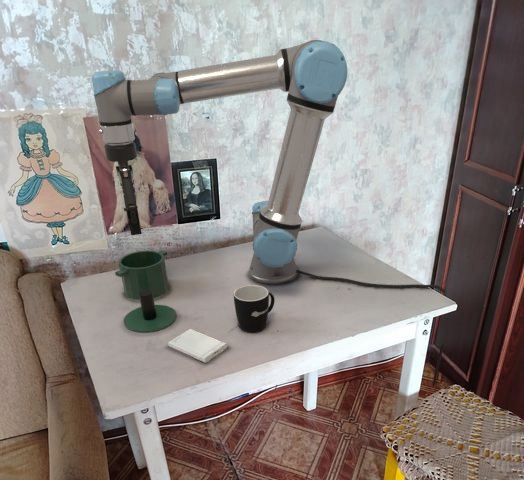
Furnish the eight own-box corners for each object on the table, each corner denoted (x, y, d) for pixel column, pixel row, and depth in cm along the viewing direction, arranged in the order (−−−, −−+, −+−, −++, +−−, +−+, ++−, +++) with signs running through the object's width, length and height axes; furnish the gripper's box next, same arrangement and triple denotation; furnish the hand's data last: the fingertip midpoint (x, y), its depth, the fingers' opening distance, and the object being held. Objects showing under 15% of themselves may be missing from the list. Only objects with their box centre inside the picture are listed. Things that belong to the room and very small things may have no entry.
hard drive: (167, 342, 124) (204, 358, 118) (190, 328, 129) (226, 342, 123) (168, 347, 125) (205, 363, 118) (191, 333, 130) (227, 347, 124)
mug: (250, 339, 127) (248, 304, 121) (229, 326, 132) (226, 292, 127) (285, 323, 133) (284, 289, 127) (263, 311, 139) (262, 278, 133)
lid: (187, 316, 137) (183, 288, 133) (149, 340, 128) (144, 310, 123) (151, 303, 145) (146, 276, 140) (113, 325, 135) (106, 296, 130)
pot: (183, 284, 154) (179, 253, 148) (139, 309, 142) (132, 276, 136) (154, 275, 161) (149, 244, 155) (109, 298, 148) (102, 265, 143)
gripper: (102, 134, 132) (117, 213, 144) (105, 154, 112) (122, 243, 124) (131, 132, 134) (144, 210, 145) (139, 151, 114) (153, 239, 125)
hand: (134, 225), depth 135 cm, fingers open, 13 cm apart
